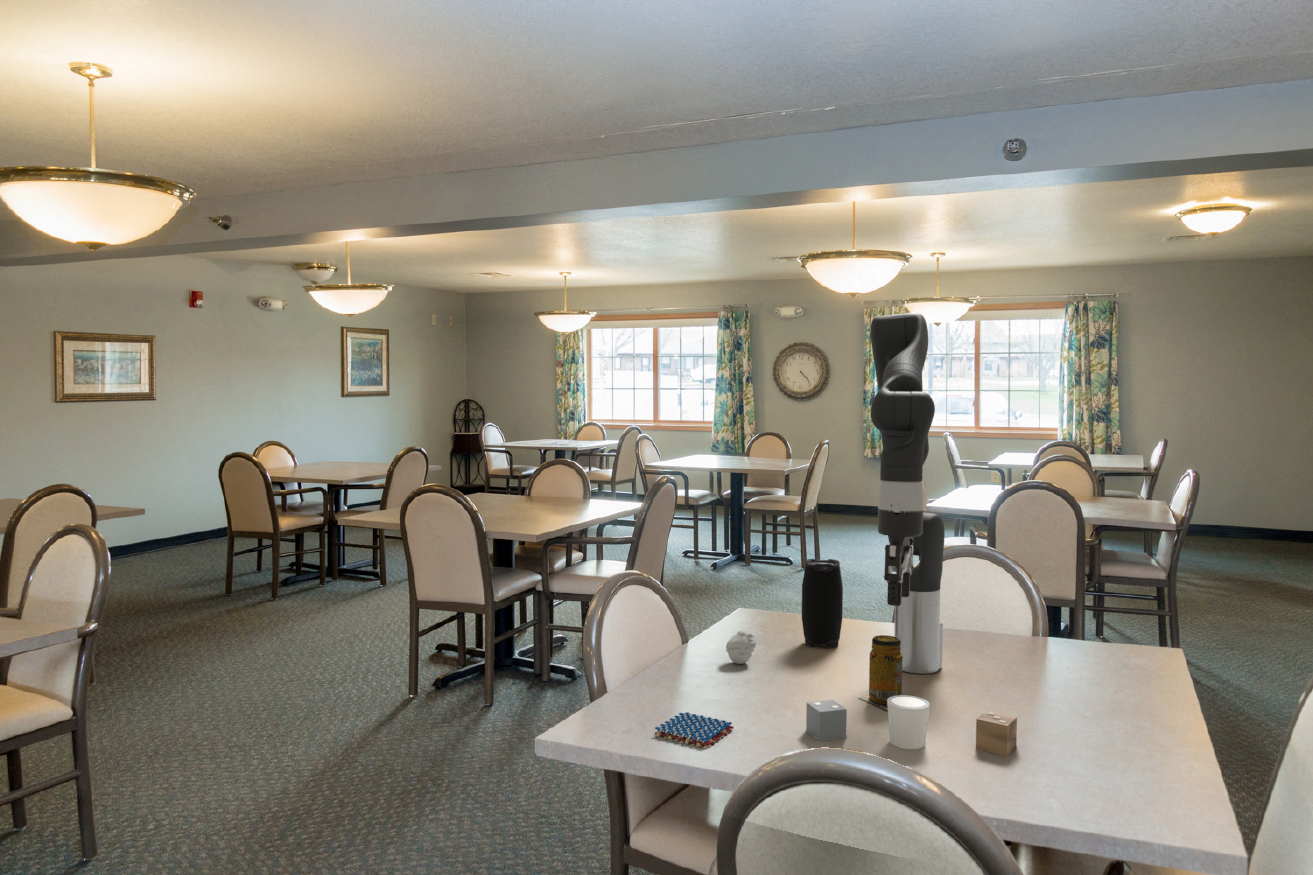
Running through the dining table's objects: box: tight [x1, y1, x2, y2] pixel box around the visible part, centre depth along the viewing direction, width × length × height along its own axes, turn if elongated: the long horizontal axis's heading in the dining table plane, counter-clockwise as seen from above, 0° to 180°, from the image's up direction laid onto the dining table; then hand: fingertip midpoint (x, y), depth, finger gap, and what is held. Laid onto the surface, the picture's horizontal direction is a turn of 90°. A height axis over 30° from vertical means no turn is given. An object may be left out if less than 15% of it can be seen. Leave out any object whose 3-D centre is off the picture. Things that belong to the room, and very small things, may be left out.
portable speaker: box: [801, 558, 844, 649], centre depth 209 cm, size 9×9×20 cm
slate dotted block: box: [805, 699, 848, 742], centre depth 154 cm, size 5×5×5 cm
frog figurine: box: [725, 629, 757, 665], centre depth 194 cm, size 6×7×7 cm
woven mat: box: [654, 711, 734, 749], centre depth 154 cm, size 10×11×2 cm
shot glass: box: [887, 694, 931, 750], centre depth 150 cm, size 7×7×7 cm
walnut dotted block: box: [975, 710, 1018, 757], centre depth 148 cm, size 5×5×5 cm
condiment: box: [858, 634, 903, 711], centre depth 170 cm, size 7×8×12 cm
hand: (898, 600), depth 155 cm, fingers open, 8 cm apart
